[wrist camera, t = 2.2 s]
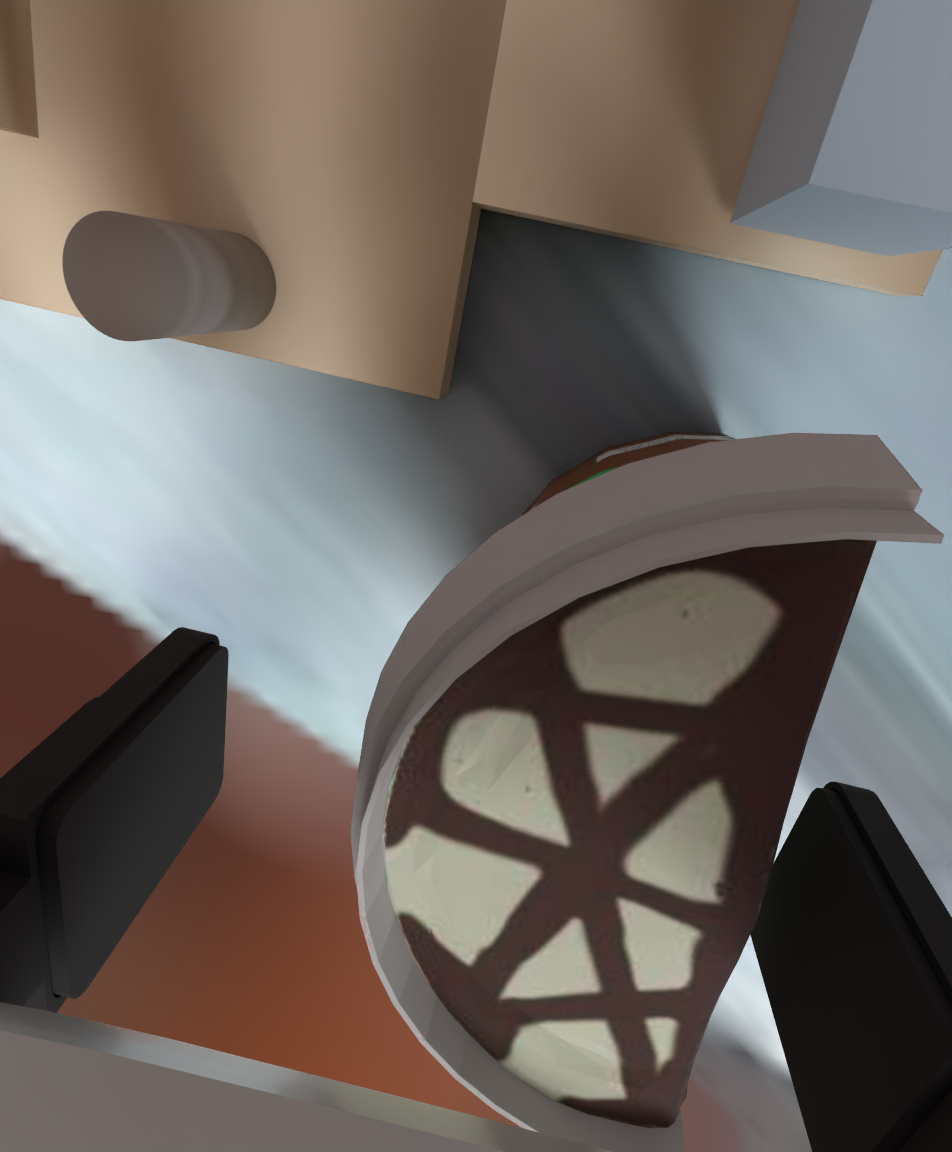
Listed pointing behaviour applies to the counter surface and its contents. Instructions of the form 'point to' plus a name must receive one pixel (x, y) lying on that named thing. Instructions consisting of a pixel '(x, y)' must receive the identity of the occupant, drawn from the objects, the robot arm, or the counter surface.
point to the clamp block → (858, 129)
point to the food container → (609, 764)
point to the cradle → (370, 161)
